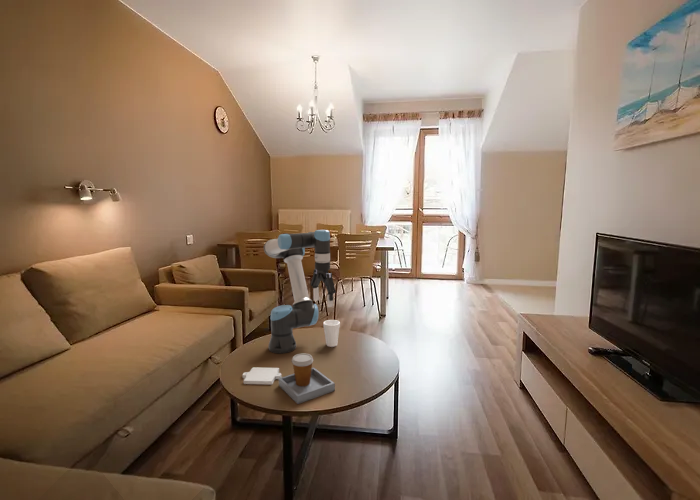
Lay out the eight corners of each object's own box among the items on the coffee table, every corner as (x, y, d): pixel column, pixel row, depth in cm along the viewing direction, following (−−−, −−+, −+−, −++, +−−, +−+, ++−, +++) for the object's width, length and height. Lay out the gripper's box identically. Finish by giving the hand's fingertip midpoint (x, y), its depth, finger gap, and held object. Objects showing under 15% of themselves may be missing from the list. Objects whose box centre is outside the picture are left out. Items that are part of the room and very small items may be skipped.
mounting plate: (238, 384, 163) (238, 380, 163) (247, 370, 176) (247, 367, 176) (277, 385, 162) (277, 381, 162) (284, 371, 175) (284, 368, 175)
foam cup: (339, 347, 202) (339, 325, 200) (323, 347, 202) (322, 325, 200) (340, 341, 211) (340, 319, 210) (324, 341, 212) (324, 319, 210)
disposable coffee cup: (309, 389, 157) (309, 363, 155) (289, 387, 158) (288, 361, 157) (316, 378, 166) (315, 353, 164) (296, 376, 168) (295, 352, 166)
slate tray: (278, 385, 161) (278, 378, 161) (314, 374, 172) (313, 367, 171) (297, 404, 147) (297, 396, 146) (334, 390, 157) (334, 383, 157)
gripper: (303, 258, 186) (304, 299, 189) (329, 266, 165) (329, 311, 168) (316, 257, 190) (317, 296, 193) (343, 264, 170) (343, 308, 173)
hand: (323, 303), depth 181 cm, fingers open, 13 cm apart
